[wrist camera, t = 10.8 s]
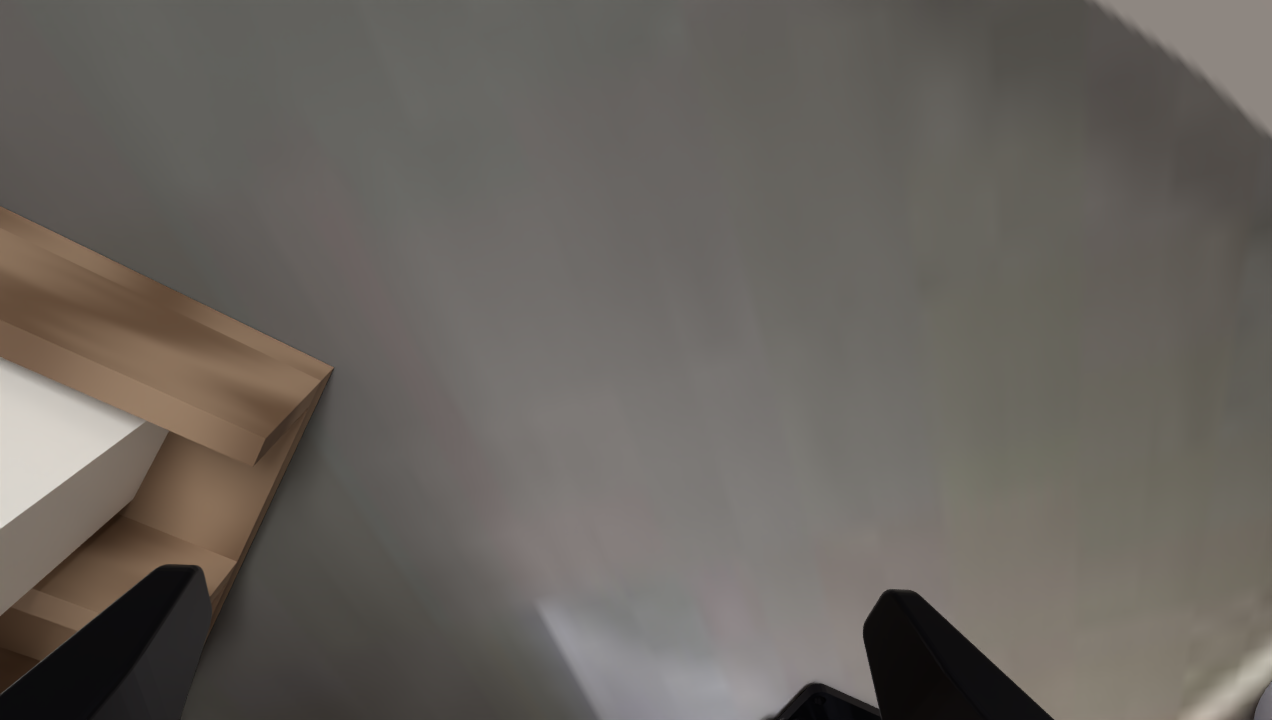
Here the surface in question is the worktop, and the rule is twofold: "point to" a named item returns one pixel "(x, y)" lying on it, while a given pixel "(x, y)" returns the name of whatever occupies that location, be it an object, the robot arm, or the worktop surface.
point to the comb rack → (161, 394)
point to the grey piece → (60, 472)
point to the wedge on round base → (1265, 705)
